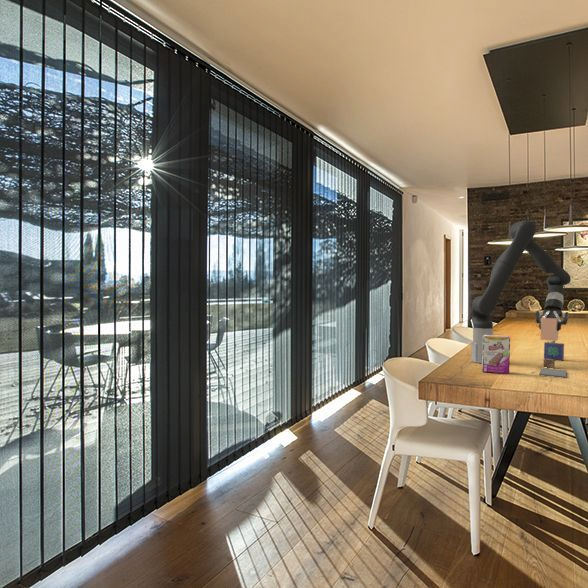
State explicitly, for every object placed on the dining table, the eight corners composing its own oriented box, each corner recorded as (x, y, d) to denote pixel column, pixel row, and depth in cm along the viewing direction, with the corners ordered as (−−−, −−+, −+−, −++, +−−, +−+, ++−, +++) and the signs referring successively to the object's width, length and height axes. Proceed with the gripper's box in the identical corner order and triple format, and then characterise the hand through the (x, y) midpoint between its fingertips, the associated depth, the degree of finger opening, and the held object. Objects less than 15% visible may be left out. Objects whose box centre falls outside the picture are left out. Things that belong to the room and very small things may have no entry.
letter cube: (543, 368, 225) (543, 359, 225) (545, 366, 228) (545, 358, 228) (553, 369, 223) (553, 360, 223) (554, 367, 226) (554, 359, 226)
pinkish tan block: (540, 339, 224) (541, 318, 224) (543, 338, 229) (543, 317, 229) (556, 340, 220) (556, 319, 220) (558, 339, 225) (558, 318, 225)
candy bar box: (482, 372, 212) (482, 335, 212) (481, 370, 217) (482, 334, 216) (509, 374, 208) (510, 336, 208) (508, 372, 213) (509, 335, 213)
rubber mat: (565, 378, 200) (565, 376, 200) (539, 375, 205) (539, 373, 205) (566, 372, 214) (566, 370, 214) (541, 370, 219) (541, 368, 219)
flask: (564, 360, 247) (564, 339, 247) (563, 361, 245) (563, 340, 244) (544, 358, 253) (544, 338, 253) (543, 359, 251) (543, 339, 250)
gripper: (536, 297, 235) (531, 323, 226) (570, 298, 226) (566, 325, 217) (538, 308, 239) (533, 333, 230) (571, 309, 231) (567, 335, 222)
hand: (549, 329), depth 224 cm, fingers closed on pinkish tan block, 6 cm apart
